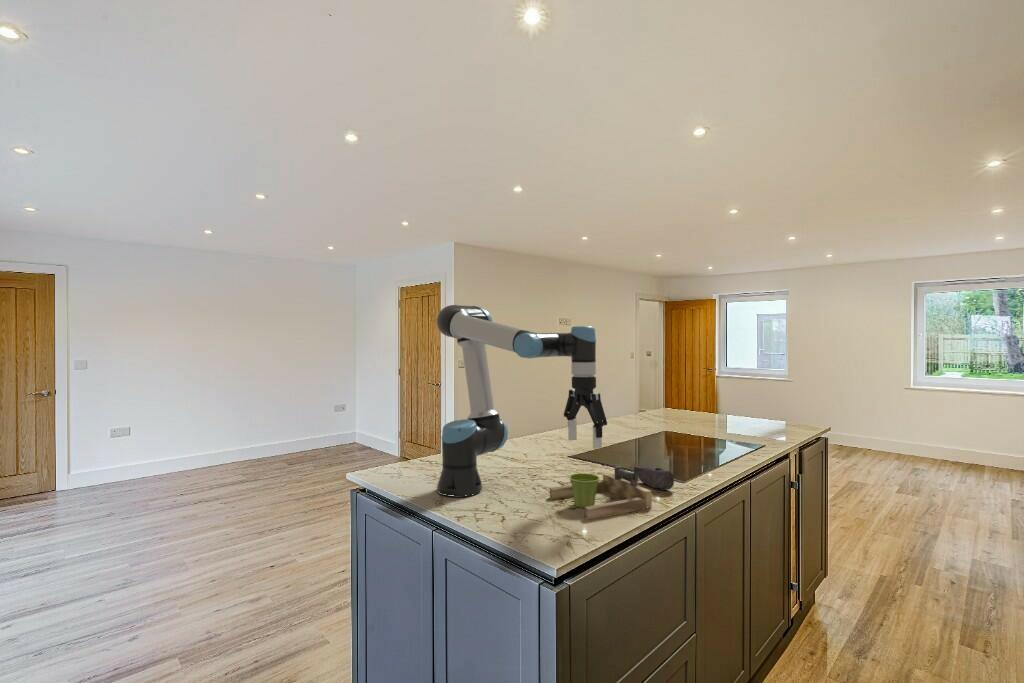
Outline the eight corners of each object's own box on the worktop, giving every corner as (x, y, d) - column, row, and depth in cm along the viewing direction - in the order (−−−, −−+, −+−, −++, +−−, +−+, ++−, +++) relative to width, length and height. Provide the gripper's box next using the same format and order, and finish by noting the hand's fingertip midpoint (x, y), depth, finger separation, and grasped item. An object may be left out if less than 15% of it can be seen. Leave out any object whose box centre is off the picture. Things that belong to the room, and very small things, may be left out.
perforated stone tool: (633, 482, 174) (633, 463, 174) (644, 480, 177) (644, 461, 177) (663, 494, 161) (663, 473, 161) (675, 491, 164) (675, 471, 163)
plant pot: (581, 498, 157) (581, 471, 157) (605, 504, 151) (605, 476, 151) (563, 505, 151) (562, 477, 151) (587, 512, 144) (587, 483, 144)
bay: (550, 497, 158) (549, 462, 158) (608, 487, 168) (608, 454, 168) (588, 519, 138) (588, 479, 138) (652, 507, 148) (652, 469, 148)
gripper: (618, 377, 142) (619, 450, 142) (572, 373, 164) (572, 435, 164) (597, 378, 138) (598, 453, 138) (552, 373, 161) (553, 438, 161)
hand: (584, 444), depth 151 cm, fingers open, 13 cm apart
